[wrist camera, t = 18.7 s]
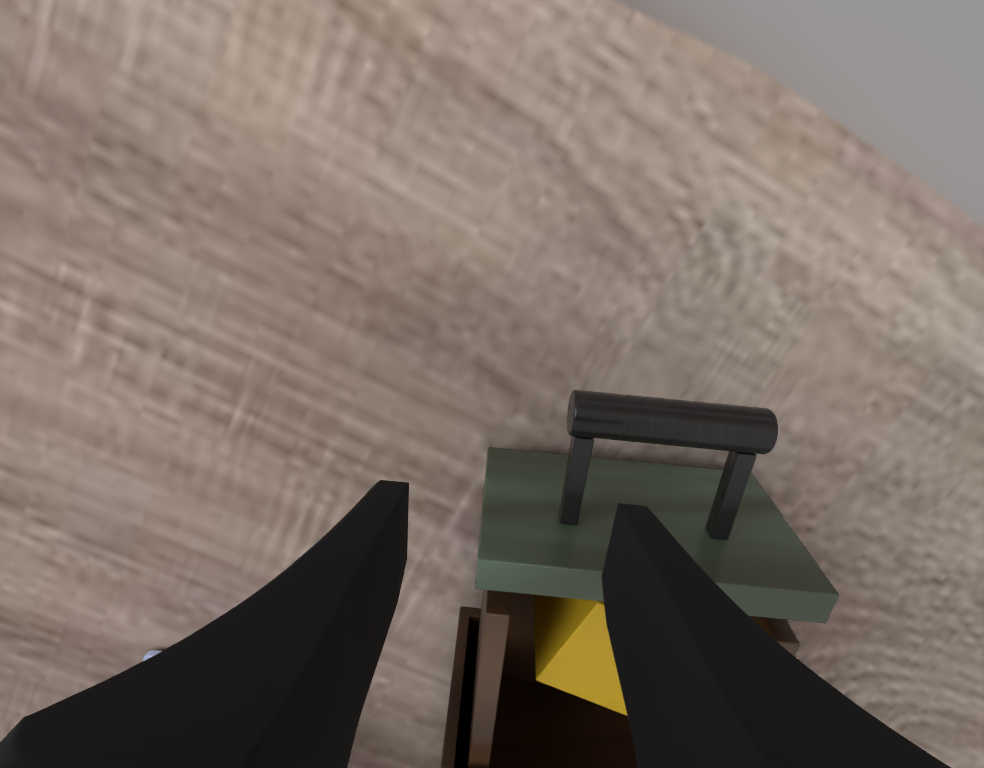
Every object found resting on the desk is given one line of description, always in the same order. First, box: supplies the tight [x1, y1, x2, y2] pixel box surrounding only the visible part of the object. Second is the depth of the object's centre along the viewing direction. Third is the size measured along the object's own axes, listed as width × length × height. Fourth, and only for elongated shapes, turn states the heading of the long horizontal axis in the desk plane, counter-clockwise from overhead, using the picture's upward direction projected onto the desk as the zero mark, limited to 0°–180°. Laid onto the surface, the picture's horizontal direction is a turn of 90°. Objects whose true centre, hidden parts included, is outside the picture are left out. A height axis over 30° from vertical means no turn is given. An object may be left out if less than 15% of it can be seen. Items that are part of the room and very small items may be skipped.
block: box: [533, 595, 627, 716], centre depth 21 cm, size 4×4×4 cm
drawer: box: [467, 390, 839, 768], centre depth 21 cm, size 18×11×6 cm, turn 175°
